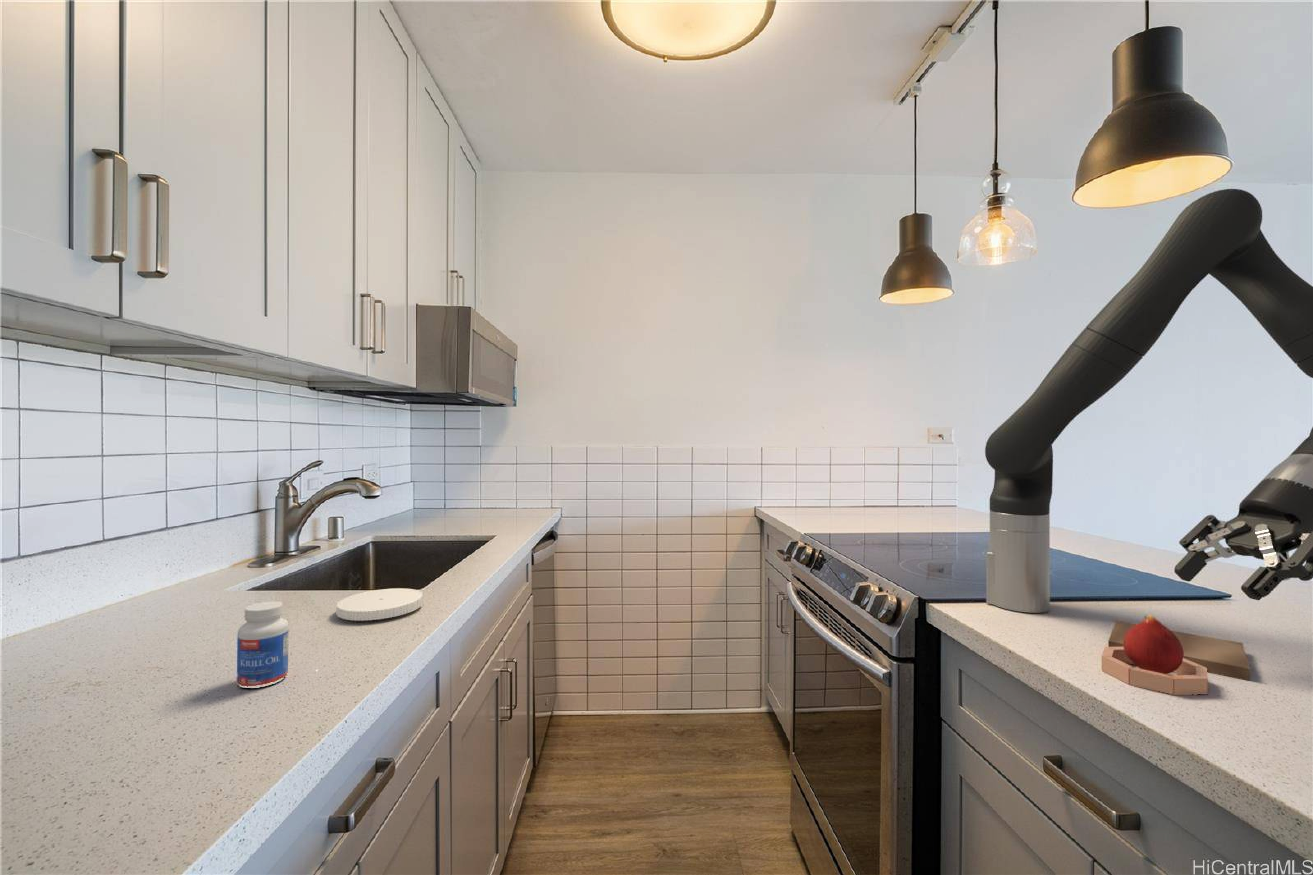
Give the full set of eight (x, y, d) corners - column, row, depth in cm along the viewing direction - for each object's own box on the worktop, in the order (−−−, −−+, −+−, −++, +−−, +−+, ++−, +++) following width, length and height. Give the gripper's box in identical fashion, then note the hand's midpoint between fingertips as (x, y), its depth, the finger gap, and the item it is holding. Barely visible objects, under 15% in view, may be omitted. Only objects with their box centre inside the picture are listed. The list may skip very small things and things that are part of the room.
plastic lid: (415, 622, 94) (415, 608, 94) (324, 629, 91) (324, 614, 91) (429, 599, 108) (429, 586, 108) (350, 604, 105) (350, 591, 105)
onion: (1168, 671, 73) (1168, 611, 73) (1194, 690, 68) (1194, 625, 68) (1115, 665, 75) (1115, 606, 75) (1136, 683, 70) (1136, 620, 70)
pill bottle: (232, 694, 67) (231, 615, 67) (241, 677, 72) (241, 603, 72) (286, 685, 70) (285, 608, 70) (291, 669, 75) (290, 597, 75)
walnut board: (1108, 651, 80) (1108, 640, 80) (1115, 629, 89) (1115, 620, 89) (1249, 680, 70) (1249, 668, 70) (1242, 653, 79) (1242, 643, 79)
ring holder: (1099, 677, 71) (1099, 662, 71) (1106, 655, 78) (1107, 641, 78) (1208, 703, 64) (1208, 686, 64) (1205, 676, 72) (1206, 660, 72)
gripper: (1221, 472, 79) (1143, 553, 79) (1348, 481, 65) (1253, 579, 64) (1257, 509, 79) (1179, 590, 79) (1392, 525, 65) (1297, 624, 65)
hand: (1212, 585), depth 72 cm, fingers open, 8 cm apart
